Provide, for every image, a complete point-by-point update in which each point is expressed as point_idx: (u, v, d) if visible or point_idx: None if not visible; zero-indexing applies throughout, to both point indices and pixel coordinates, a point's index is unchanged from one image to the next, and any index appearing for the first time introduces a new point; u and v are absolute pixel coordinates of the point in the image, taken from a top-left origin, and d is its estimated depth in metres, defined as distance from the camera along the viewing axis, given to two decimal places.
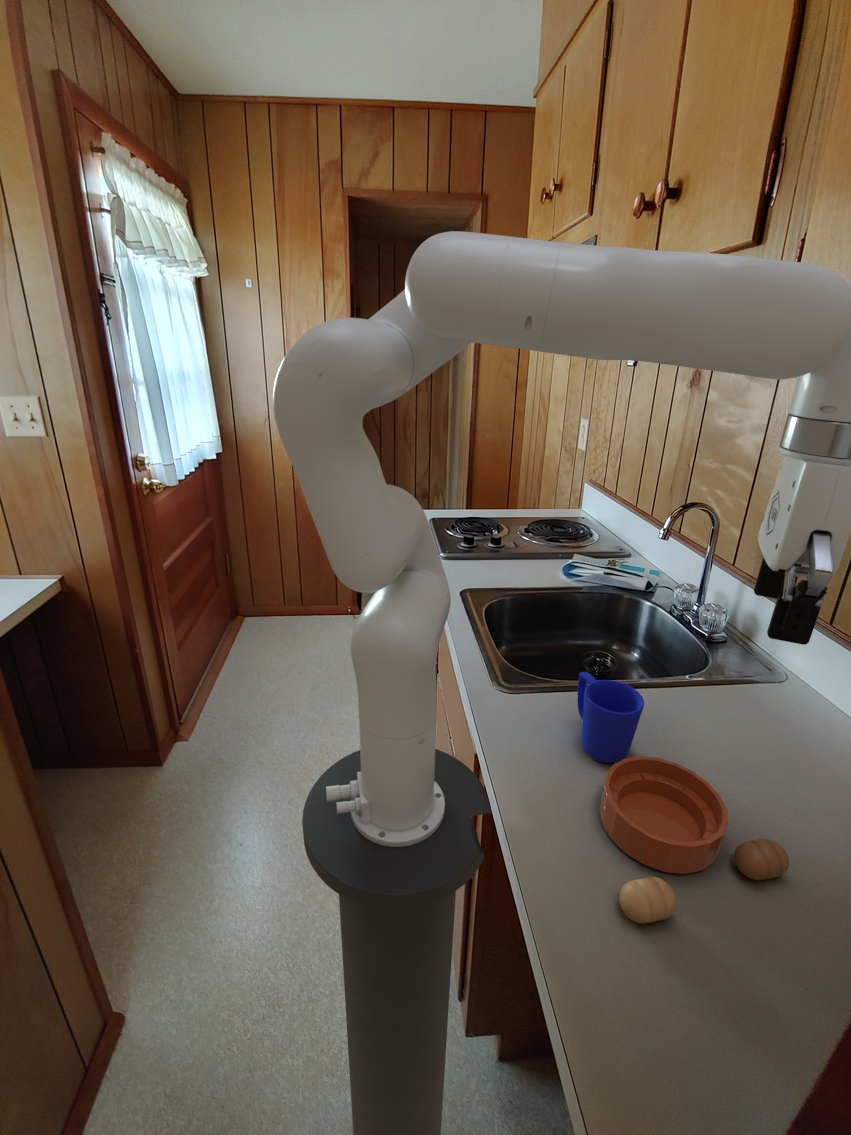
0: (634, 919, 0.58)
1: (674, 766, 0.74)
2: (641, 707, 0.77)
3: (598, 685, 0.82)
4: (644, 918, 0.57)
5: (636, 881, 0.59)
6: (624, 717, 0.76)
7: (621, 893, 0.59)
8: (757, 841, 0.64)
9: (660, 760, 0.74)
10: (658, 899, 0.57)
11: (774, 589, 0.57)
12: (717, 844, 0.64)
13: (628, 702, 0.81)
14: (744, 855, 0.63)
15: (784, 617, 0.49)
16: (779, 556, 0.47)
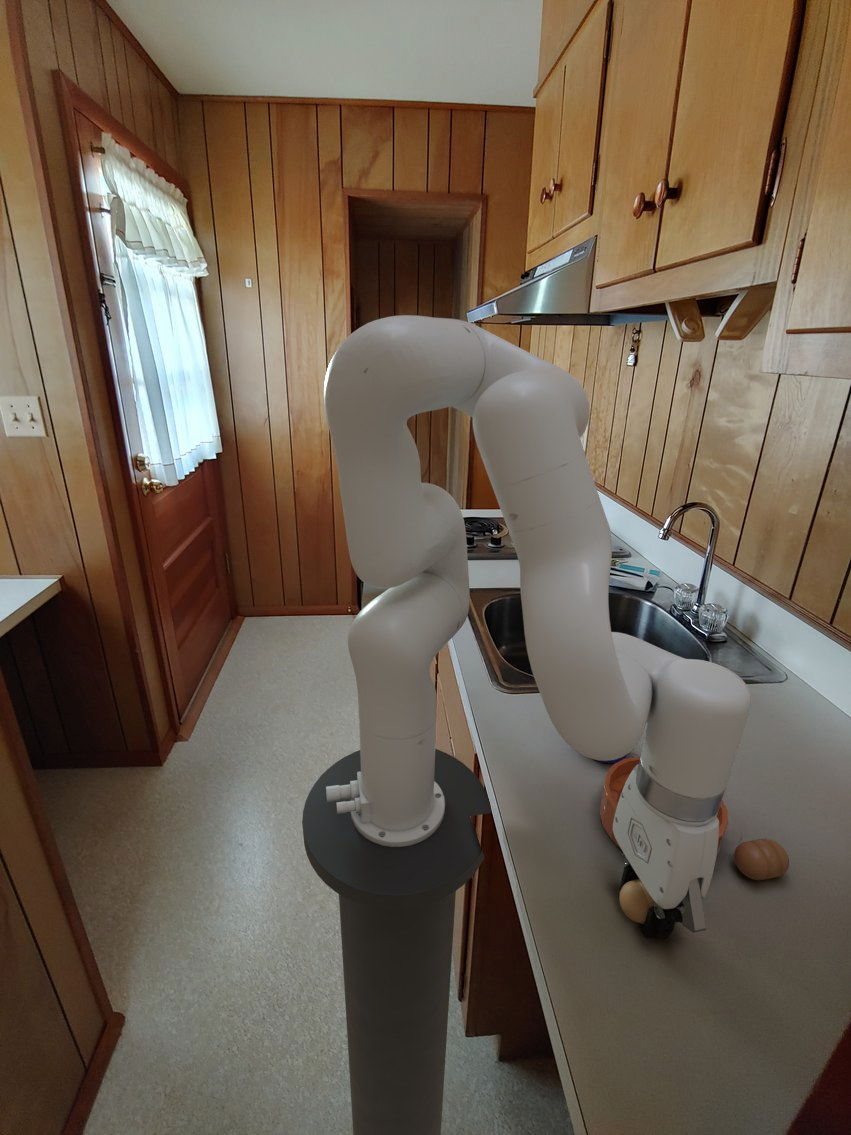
0: (634, 919, 0.58)
1: None
2: None
3: None
4: (644, 918, 0.57)
5: (636, 881, 0.59)
6: None
7: (621, 893, 0.59)
8: (757, 841, 0.64)
9: None
10: None
11: None
12: None
13: None
14: (744, 855, 0.63)
15: (657, 923, 0.56)
16: (667, 901, 0.52)
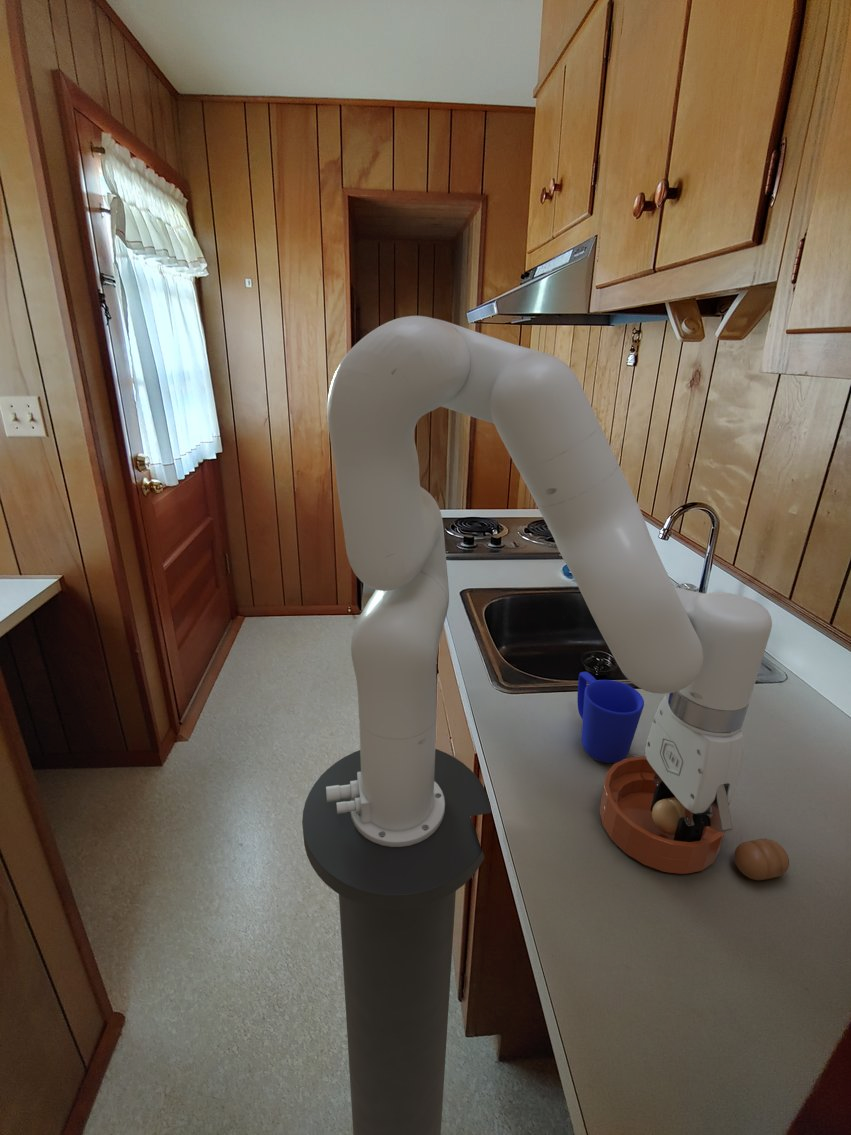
0: (666, 830, 0.65)
1: None
2: (641, 707, 0.77)
3: (598, 685, 0.82)
4: (675, 829, 0.64)
5: (667, 799, 0.67)
6: (624, 717, 0.76)
7: (654, 809, 0.66)
8: (757, 841, 0.64)
9: None
10: None
11: None
12: (717, 844, 0.64)
13: (628, 702, 0.81)
14: (744, 855, 0.63)
15: (686, 832, 0.63)
16: (697, 806, 0.59)
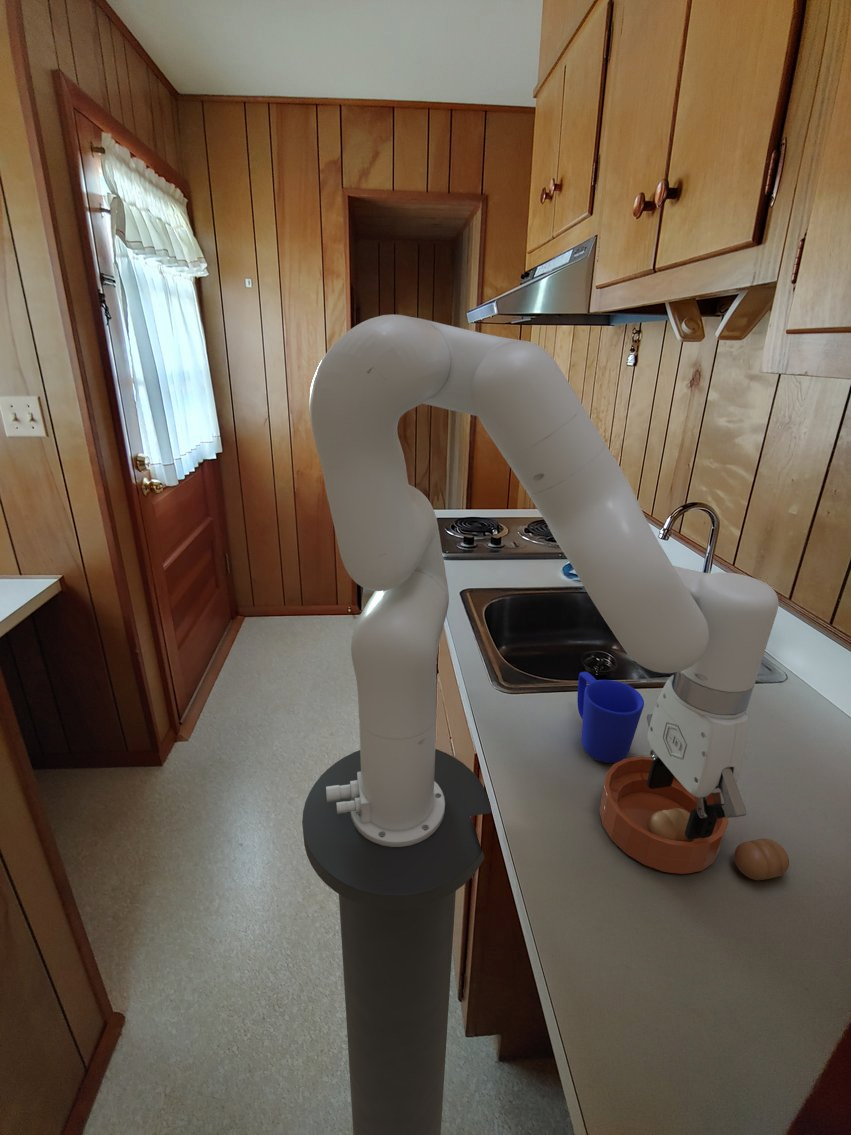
0: None
1: None
2: (641, 707, 0.77)
3: (598, 685, 0.82)
4: None
5: (662, 811, 0.68)
6: (624, 717, 0.76)
7: (649, 822, 0.67)
8: (757, 841, 0.64)
9: None
10: (682, 824, 0.66)
11: (662, 782, 0.69)
12: (717, 844, 0.64)
13: (628, 702, 0.81)
14: (744, 855, 0.63)
15: (698, 825, 0.61)
16: (701, 789, 0.58)
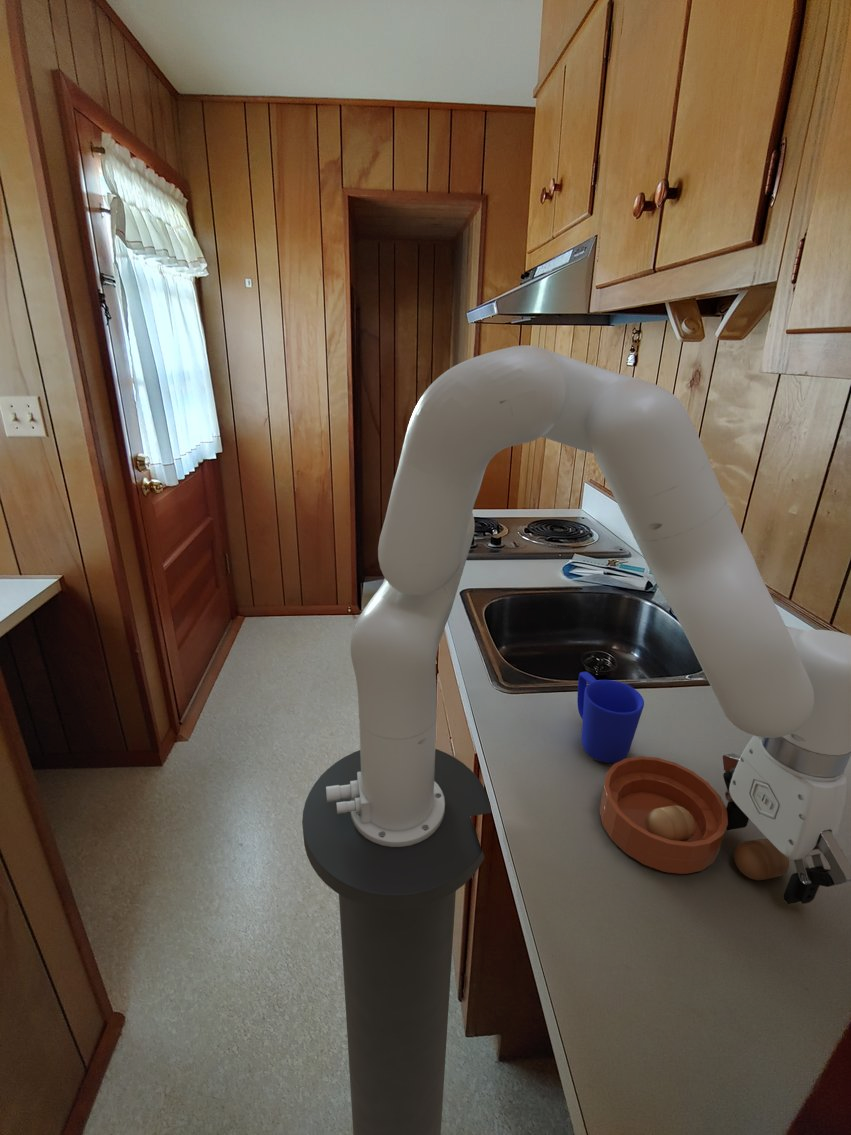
0: None
1: (674, 766, 0.74)
2: (641, 707, 0.77)
3: (598, 685, 0.82)
4: (668, 834, 0.66)
5: (658, 808, 0.68)
6: (624, 717, 0.76)
7: (646, 819, 0.68)
8: (757, 841, 0.64)
9: (660, 760, 0.74)
10: (678, 817, 0.66)
11: (738, 823, 0.68)
12: (717, 844, 0.64)
13: (628, 702, 0.81)
14: (744, 855, 0.63)
15: (800, 890, 0.58)
16: (797, 852, 0.56)
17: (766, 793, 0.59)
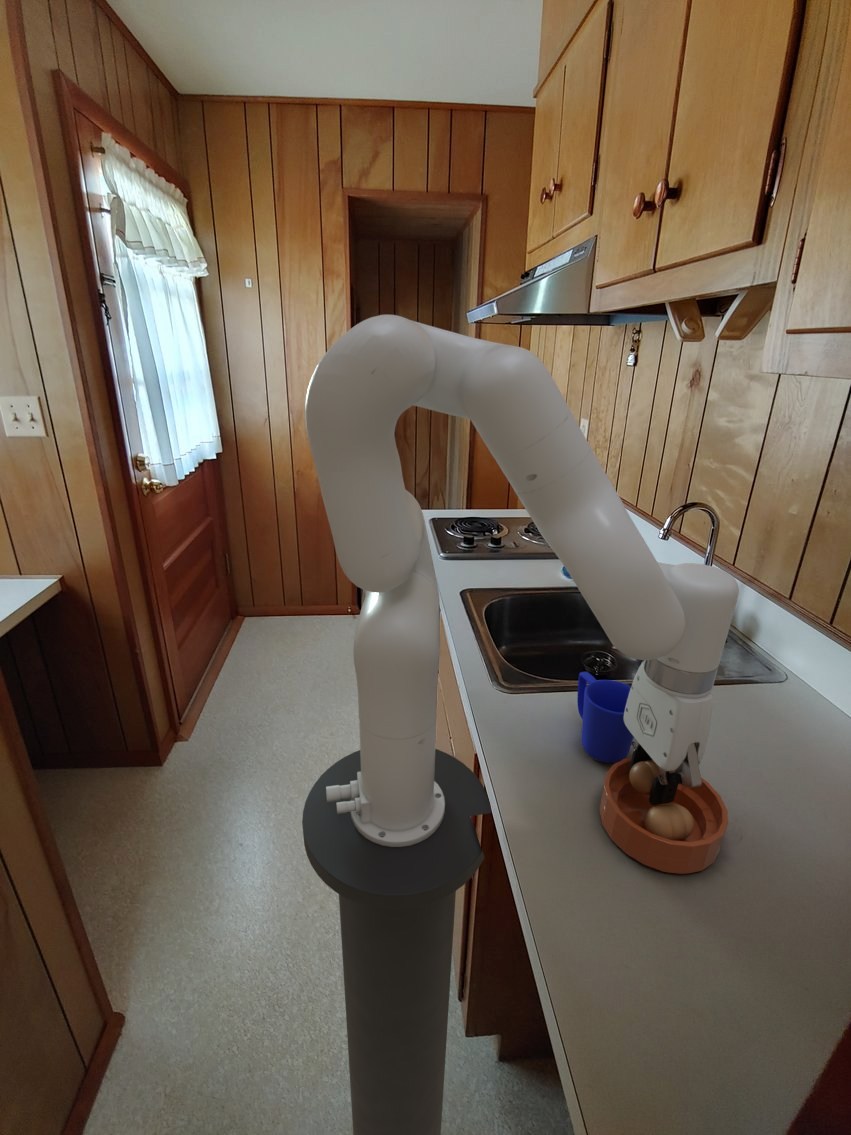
0: (659, 835, 0.66)
1: None
2: None
3: (598, 685, 0.82)
4: (667, 830, 0.66)
5: None
6: None
7: (645, 818, 0.68)
8: (649, 761, 0.71)
9: None
10: (675, 813, 0.67)
11: None
12: (717, 844, 0.64)
13: None
14: (636, 772, 0.69)
15: (660, 791, 0.68)
16: (669, 763, 0.63)
17: (648, 714, 0.66)
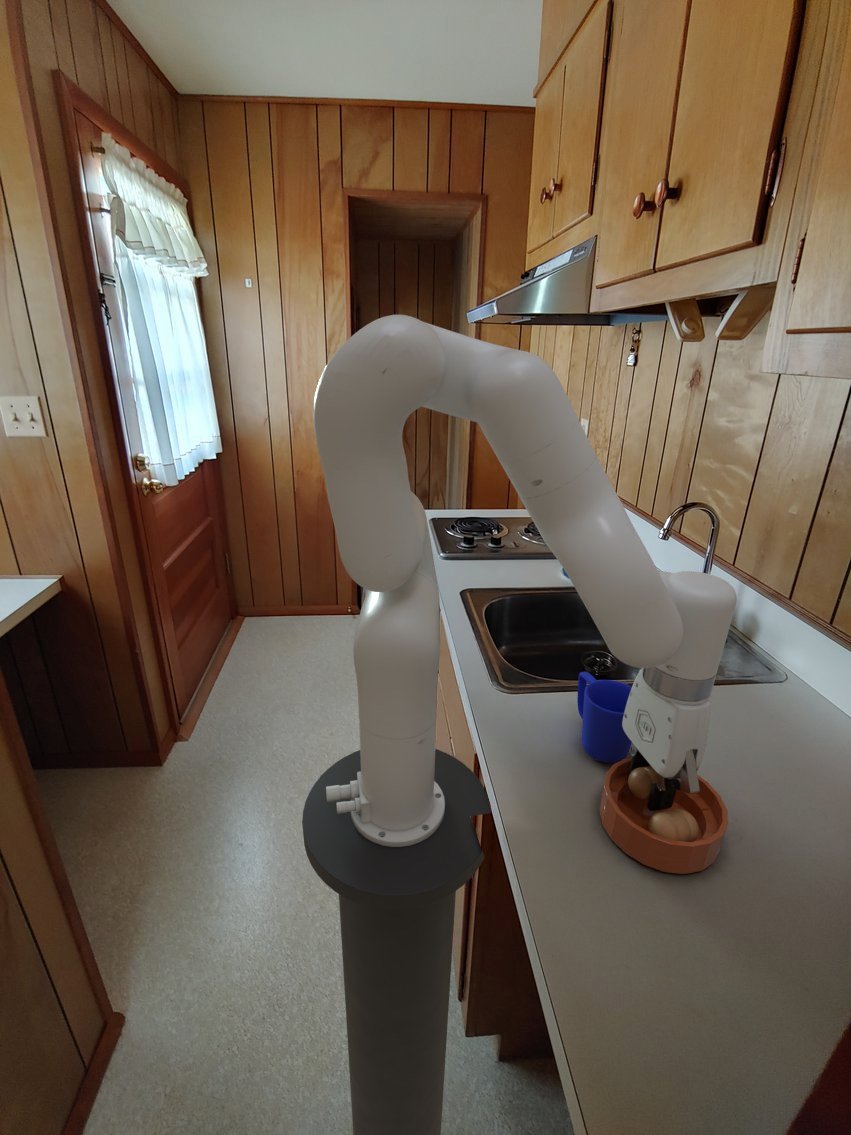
0: None
1: None
2: None
3: (598, 685, 0.82)
4: None
5: (663, 812, 0.67)
6: None
7: (650, 822, 0.67)
8: (648, 766, 0.71)
9: None
10: (683, 826, 0.66)
11: None
12: (717, 844, 0.64)
13: None
14: (635, 778, 0.70)
15: (659, 797, 0.68)
16: (668, 770, 0.63)
17: (646, 720, 0.66)
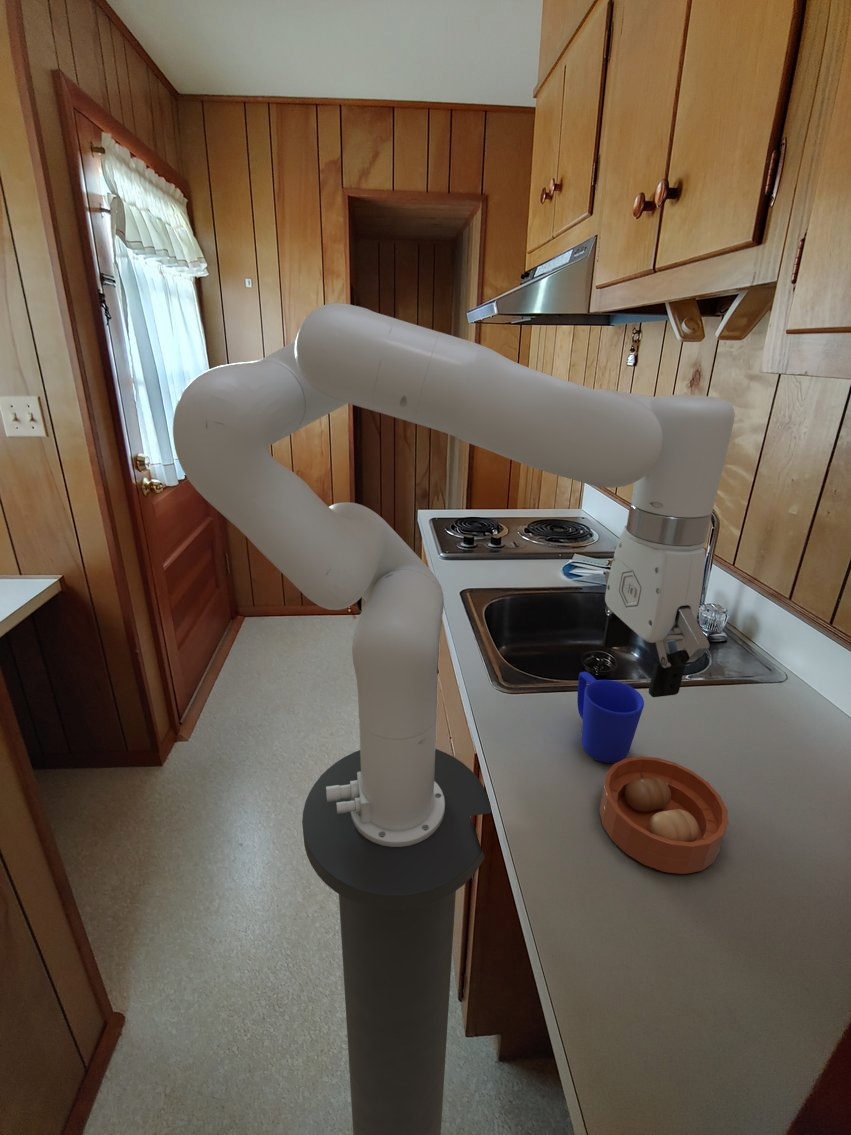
0: None
1: (674, 766, 0.74)
2: (641, 707, 0.77)
3: (598, 685, 0.82)
4: None
5: (663, 812, 0.67)
6: (624, 717, 0.76)
7: (650, 822, 0.67)
8: (642, 778, 0.73)
9: (660, 760, 0.74)
10: (683, 826, 0.66)
11: (618, 640, 0.66)
12: (717, 844, 0.64)
13: (628, 702, 0.81)
14: (630, 788, 0.71)
15: (663, 678, 0.56)
16: (656, 632, 0.54)
17: (631, 582, 0.57)
